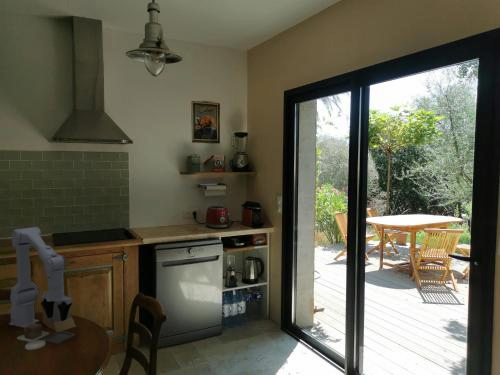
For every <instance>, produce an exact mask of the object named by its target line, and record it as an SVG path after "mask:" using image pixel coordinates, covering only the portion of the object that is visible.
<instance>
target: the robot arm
mask: <svg viewBox="0 0 500 375" xmlns="http://www.w3.org/2000/svg"><path fill="white" fill-rule="evenodd" d="M11 243H12V247H13V248H15V250H16V251H15V255H16V270H17V273H16V274H17V283H16V284H15V285H14V286H13V287H12V288H11V289H10V295H9V296H10V297H9V299H10V303H11V305H12V306H11V307H10V323H8V325H9V326H14V327H20V328H24V327H26V326H28V325H31V324H33V323H37V322H39V321H40V320H39V319H35V303H36V301H38V298H39V291H38V287H37V284H35V283H34V282H32V281H31V279H32V278H31V263H30V247H31V246H32V247H33V248H34V249H35V250H36V251H37V256H38V257H39V259H40V260H41V261H42V263H44V265H43V268H44V270H45V275H46V277H47V291H48V294H44V295H42V294H41V296H40V297H41V302H40V305H41V306H43V308H44V310H45V312H46V315H47V318H51V317H53V308H54V303H55V302H61V303H62V304H59V305H57V306H58V308H59V311H60V318H61V321H64V320H66V319H67V315H68V311H70V309H71V306H72V305H73V302H72V297H68V296H67V295H65V285H64V270H65V269H66V267H67V261H66V258H65V256H64V255H60V254H58V253H57V252H56V251H55V250H54V248H52V246H50V245H46V243H45V242H44V240H43V238H42V231H41V229H40V228H39V227H38V226H33V227H26V228H16V229H14V230H13V232H12V233H11ZM42 300H44V301H43V302H42Z"/></svg>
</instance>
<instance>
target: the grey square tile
mask: <svg viewBox="0 0 500 375" xmlns="http://www.w3.org/2000/svg"><path fill="white" fill-rule="evenodd" d="M75 336H76V334H75V333H71V332H68V331H64V330H63V331H59V332H54V333H53V334H51V335H50V334H49V335H47V336H45V337H43V338H42V340H44V341H45V342H47V343H51V344H55V345H59V344H61V343H63V342H65V341H68V340H70V339H72V338H73V337H75Z"/></svg>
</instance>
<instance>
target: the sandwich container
mask: <svg viewBox="0 0 500 375" xmlns="http://www.w3.org/2000/svg"><path fill="white" fill-rule="evenodd" d="M44 294H48V290H44V291H43V290H42V291H41V295H44ZM43 301H44V300H42V299H41V302H43ZM59 304H62V303H61V302H55V303H54V308H53V317H51V318H47V315H46V312H45V310H44V308H43V306H42V305H41V306H42V324H43V325H44V326H46V327H47V328H49V329H51V330H53V331H54V332H55V333H57V332H59V331H63V332H64V331H66V330H69V329H72V328H75V327H76V324H75V321H74V318H73V316H72V314H71V312H70V310H69V311H68V315H67V319H66V320H64V321H61V318H60V311H59V308H58V306H57V305H59Z"/></svg>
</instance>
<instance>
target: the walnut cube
mask: <svg viewBox="0 0 500 375" xmlns="http://www.w3.org/2000/svg"><path fill="white" fill-rule="evenodd" d="M23 329H24V331H23V332H24V334H25V338H27V339H31V340H33V339H35V338H37V337H39V336H42V331H43V325H42V324H41V323H37V322H35V323H33V324H31V325H28V326H26V327H23Z"/></svg>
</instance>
